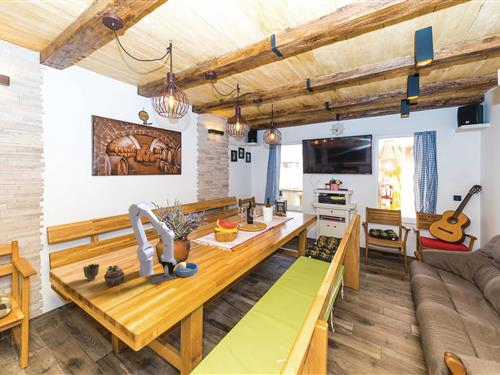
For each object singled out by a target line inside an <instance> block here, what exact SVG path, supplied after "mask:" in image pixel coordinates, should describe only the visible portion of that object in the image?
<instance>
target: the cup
mask: <svg viewBox="0 0 500 375" xmlns="http://www.w3.org/2000/svg"><path fill="white" fill-rule="evenodd" d="M82 270H83V274H84V277H85V278H86V279H87V280H88V281H94V280H95V279H96V277H97V276H98V274H99V270H100V264H99V263H97V264H96V263H94V264H93V263H91V264H88V265H87V266H86V265H85V266H83V268H82Z"/></svg>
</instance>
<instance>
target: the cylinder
mask: <svg viewBox="0 0 500 375" xmlns="http://www.w3.org/2000/svg"><path fill="white" fill-rule="evenodd" d="M170 276H172V274H171V275H169V272H168V267H167V265H166V266H165V277H170Z"/></svg>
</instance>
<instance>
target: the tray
mask: <svg viewBox="0 0 500 375" xmlns="http://www.w3.org/2000/svg"><path fill="white" fill-rule="evenodd" d="M177 277H178V276H177V275H176V273H175V271H173V274H172V276H170V277H165V272H164V271H163V272H159V273H154V274H152V275H149V278H150V280H151V283H152V285H155V284H159V283H160V284H161V283H163V282H164V283H165V282H169V281H173V280H175V279H177Z"/></svg>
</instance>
